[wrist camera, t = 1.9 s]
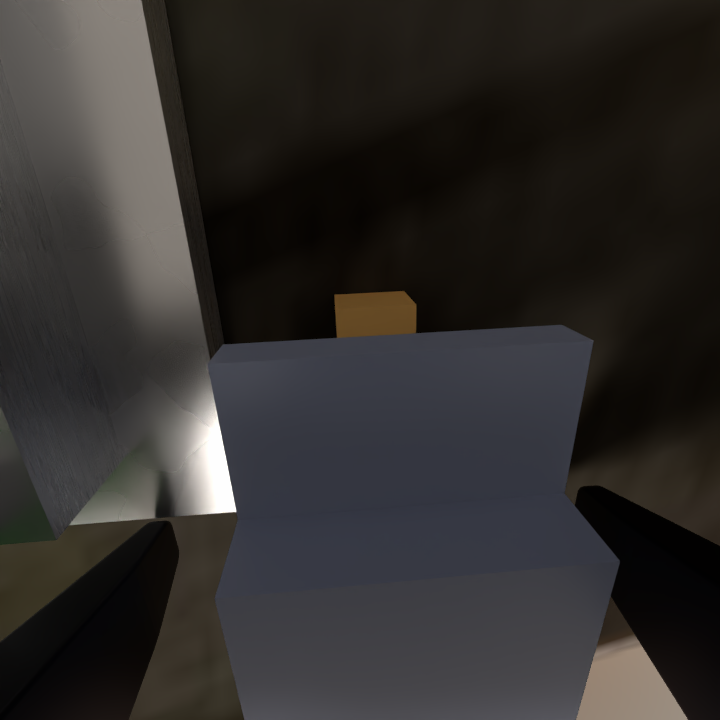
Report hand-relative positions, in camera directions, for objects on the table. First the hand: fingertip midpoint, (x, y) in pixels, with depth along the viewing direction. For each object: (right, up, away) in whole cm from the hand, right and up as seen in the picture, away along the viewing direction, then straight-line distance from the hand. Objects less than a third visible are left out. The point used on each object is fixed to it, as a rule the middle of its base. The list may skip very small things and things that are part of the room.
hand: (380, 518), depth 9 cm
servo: (0, 0, +1) cm, 1 cm away
